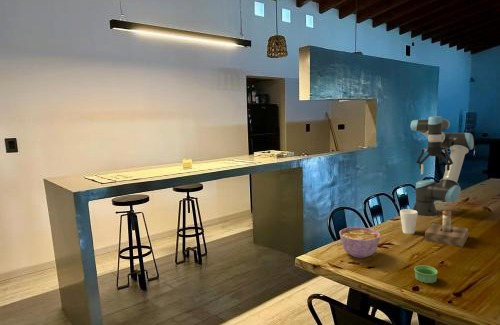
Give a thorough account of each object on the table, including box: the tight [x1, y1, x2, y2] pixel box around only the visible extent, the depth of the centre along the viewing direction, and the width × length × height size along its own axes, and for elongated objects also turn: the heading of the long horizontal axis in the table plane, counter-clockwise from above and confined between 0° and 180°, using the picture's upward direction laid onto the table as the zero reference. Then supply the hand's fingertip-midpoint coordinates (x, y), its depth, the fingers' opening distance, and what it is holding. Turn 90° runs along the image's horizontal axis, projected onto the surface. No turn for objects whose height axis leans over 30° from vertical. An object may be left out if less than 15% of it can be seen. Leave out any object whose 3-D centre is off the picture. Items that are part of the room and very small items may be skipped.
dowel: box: [441, 209, 452, 233], centre depth 185 cm, size 4×4×16 cm
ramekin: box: [413, 264, 439, 284], centre depth 142 cm, size 9×9×4 cm
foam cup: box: [399, 208, 418, 235], centre depth 198 cm, size 10×9×13 cm
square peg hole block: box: [424, 222, 469, 248], centre depth 186 cm, size 18×18×5 cm
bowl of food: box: [339, 226, 381, 259], centre depth 170 cm, size 20×20×12 cm
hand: (434, 174), depth 208 cm, fingers open, 13 cm apart
